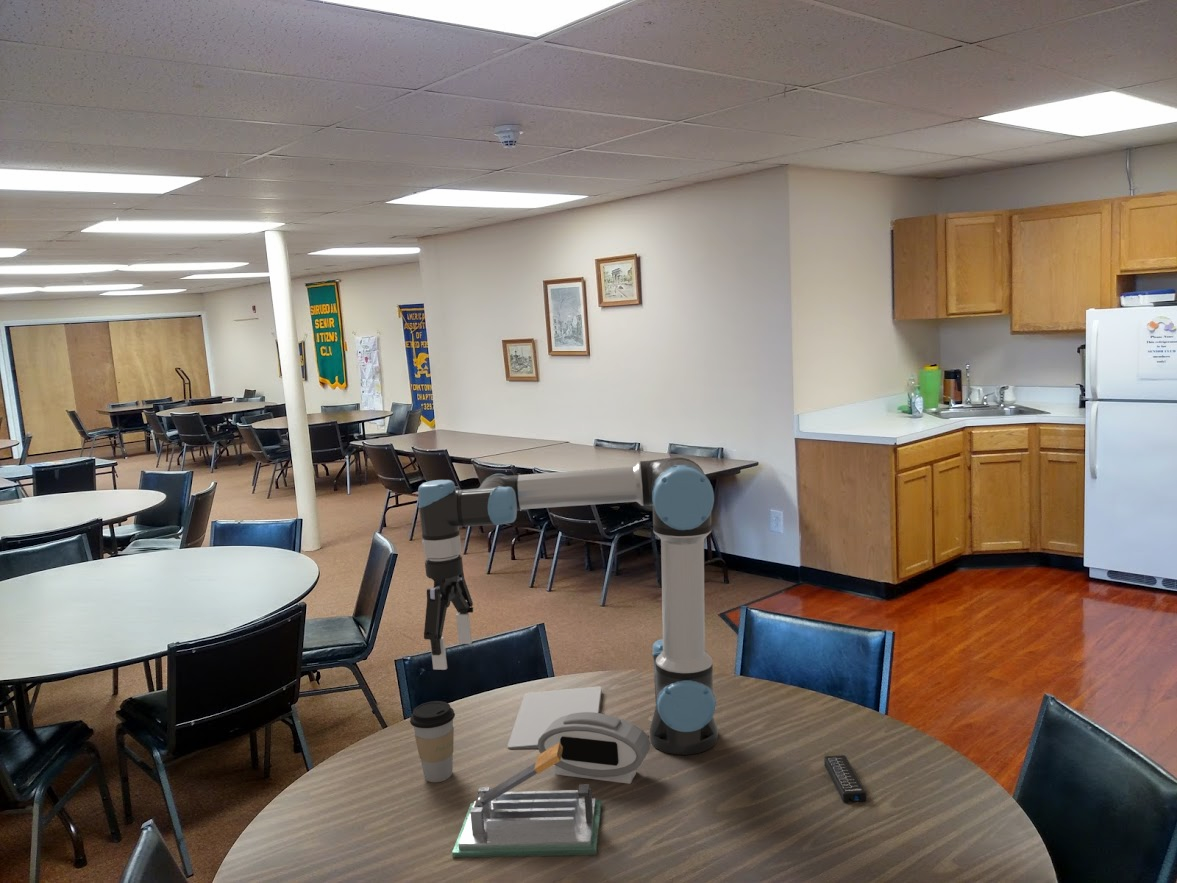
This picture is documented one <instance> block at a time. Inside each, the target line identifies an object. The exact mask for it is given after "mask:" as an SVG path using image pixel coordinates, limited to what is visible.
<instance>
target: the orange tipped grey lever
mask: <svg viewBox="0 0 1177 883" xmlns="http://www.w3.org/2000/svg"><path fill="white" fill-rule="evenodd" d="M562 751H563V746H562V745H561V743H560V742H559V743H557V744H556V745H554V746H553V747H551V748H549V749H548V750H546V751H544V752H543V753H539V754H538V755H537V758H536V760H535V761H536V762H534V763H533V764H531V765H529V766H527V767H526V768H524V769H522V770H520V771H519V772H518V773H516V774H514V775H513V776H511V777H509V778H508V779H506V780H504V781H502V782H501V783H500V784H498V785H496V786H494V787H493V788H491V789H490V790H489V791H488V792H486V793H483V792H481V793H479V795H478V794H477V798H476V800H475V801H476V803H475V806H474V807H483V806H484V805H486V804H487V803H489V802H491V801H495V800H496V798H497V797H499V796H501V795H502V794H504V793H506V792H510V790H512V789H514V788H515V787H517V786H520V784H523V783H524V782H525V781H527V780H529V779H530V778H532V777H534V776H535V775H538V774H541V773H542V772H544V771H546V770H547V769H549V768H550V767H553V766H555V765H554V764H556V763H557V762H559V761H560V760H561V755H562Z"/></svg>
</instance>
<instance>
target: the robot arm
mask: <svg viewBox="0 0 1177 883" xmlns="http://www.w3.org/2000/svg"><path fill="white" fill-rule="evenodd" d="M417 494H418V497H417V498H418V511H419V519H420V526H421V537H422V541H421V545H422V546H423V555H424V558H425V560H424V567H425V574H426V575H425V576H426V577H427V578H428V579H431V580H432V581H433V587H432V588H426V607H425V608H426V609H425V620H424V628H423V629H424V632H423V639H424V640H429V642H430V643H429V644H430V652H431V661H432V669H433V670H436V671H437V670H442V671H444V670H447V669H448V662H447V652H446V644H445V637H444V636H443V633H444V632H443V631H444V625H445V620H446V615H447V610H448V608H449V607H451V606H450V605H451V603H452V605H453V607H454V608H455V609H456V612H457V613H456V614H455V617H456V627H457V638H458V644H459V645H471V644H472V643H473V641H472V640H473V639H472V630H471V629H472V628H471V620H470V613H471V614H472V613H474V607H473V605H474V603H473V599H472V597H471V594H470V590H469V589H468V585H467V582H466V579H465V575H464V567H463V566H464V565H463V557H462V555H461V554H462V544H461V534H460V528H461V527H462V528H463V527H475V526H476V527H479V526H480V527H481V526H493V525H494V526H502V525H505V524H511V523H514V522H515V521H516V519H517V514H518V511H519V510H520V511H521V510H530V509H544V508H546V509H547V508H549V509H550V508H561V507H577V506H589V505H603V504H604V505H605V504H618V503H620V504H621V503H633V502H636V503H638V504H639V505H640V506H642V507H646V506H652V524H653V525H652V527H653V528H652V529H653V530H652V531H653V534H655V535H656V536H657V537H658V538H659V539H660V546H661V547H660V553H661V554H660V558H661V560H660V562H661V566H660V567H661V607H662V608H661V610H662V611H661V613H662V614H661V617H662V621H661V622H662V638H661V639H658V640H655V641H654V643H653V644H652V653H651V656H652V662H653V663H652V664H653V665H652V666H653V680H654V695H655V696H654V697H655V709H654V712H653V717H652V718H651V719H652V720H651V724H650V726H649V740H650V743H651V745H652V746H653V747H654V748H656V749H658V750H659V751H662V752H664V753H666V754H667V753H668V754H673V755H683V756H684V755H686V756H687V755H694V754H699V753H702V752H705V751H708V750H710V749H711V748H713V747H714V746H715V745H716V744H717V742H718V739H719V735H718V734H719V733H718V732H719V731H718V727H717V724H716V721H715V718H714V716H715V713H716V706H717V705H716V704H717V699H716V697H715V693H714V680H713V679H714V676H713V675H714V674H713V673H714V671H713V670H714V667H713V666H714V665H713V663H714V662H713V658H712V657H711V656H710V655H709V654H708V653H707V650H706V637H705V636H706V635H705V634H706V631H705V630H706V624H705V622H706V621H705V620H706V617H705V608H706V606H705V542H704V541H705V539H706V538H707V537H708V536H709V535H710V534H711V533H712V511H713V508H714V504H715V503H714V502H715V494H714V488H713V485H712V484H711V481H710V480H709V478H708V477H707V476H706V475H705V472H704V471H703V469H702V467H701V466H700V465H699V464H698V463H697V462H695V461H693V460H691V459H689V458H686V457H680V456H678V457H676V456H674V457H673V456H671V457H667V458H661V459H659V458H658V459H651V460H640V461H637V463H635V465H633V466H625V467H624V466H623V467H611V468H610V467H609V468H608V467H607V468H597V469H594V468H593V469H585V470H584V469H583V470H570V471H569V470H568V471H567V470H566V471H558V472H557V471H556V472H544V473H541V472H540V473H530V474H529V473H528V474H517V475H506V474H503V473H495V474H492V475H490V476H488V477H486V478H485V479H484V480H483V481H482V482H481V483H480V486H479V487H478V488H470V489H469V488H468V489H457V487H456V485H455V482H454V481H453V480H451V479H436V480H435V479H434V480H429V481H426V482H422V483H421V484H420V485H419V486H418V489H417Z"/></svg>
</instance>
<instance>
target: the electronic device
mask: <svg viewBox="0 0 1177 883" xmlns="http://www.w3.org/2000/svg"><path fill="white" fill-rule="evenodd" d="M602 694H603V692H602V686H600V685H598V686H587V687H575V688H564V689H554V690H543V691H531V692H525V693H524V695H523V697H522V699H521V703H520V706H519V709H518V712H517V715H516V719H515V721H514V724H513V728H512V731H511V733H510V735H509V739H508V742H507V746H506V747H507V749H509V750H516V749H517V750H520V749H521V750H522V749H538V746H537V745H538V740H539V738H540V737H541V736H542V734H543V733H544V732H545V731H546V730H547V729H548V727H549V726H550V725H551V724H552V723H553V721H555V720H557V719H558V718H560V717H563V716H566V715H569V714H574V713H581V712H595V713H600V709H601V702H602V701H601V700H602Z"/></svg>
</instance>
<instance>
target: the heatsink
mask: <svg viewBox="0 0 1177 883" xmlns="http://www.w3.org/2000/svg"><path fill="white" fill-rule="evenodd" d="M490 788H491V787H490V786H481V787H479V788H478V790H477V793H478V794H477V796H478V795H479V793H481V792H483V793H486V792H488V791H489V790H491V789H490ZM592 796H593V795H592V788H591V787H590V784H589V783H584V784H583V783H581V784H579V785H578V789H576V790H575V789H569V790H568V789H566V790H534V791H533V790H530V791H529V790H527V791H507V792H506V793H504V794H502V795H501V796H499V797H497V798H496V799H495V800H492V801H491V802H489V803H487V804H486V805H484V806H483V807H474V806H475V803H476V800H475V801H473V802H471V803H470V804H469V808H468V810H467V813H466V814H465V818H464V821H463V823H462V826H461V829H460V832H459V834H458V836H457V839H456V842H455V844H454V846H453V849H452V852H451V853H452V858H495V857H496V858H498V857H501V858H502V857H504V858H506V857H509V858H511V857H547V856H548V857H549V856H551V857H555V856H564V857H565V856H596V855H597V849H598V840H599V830H600V823H601V814H602V813H601V812H602V800H601V799H596V798H595V797H592Z"/></svg>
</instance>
